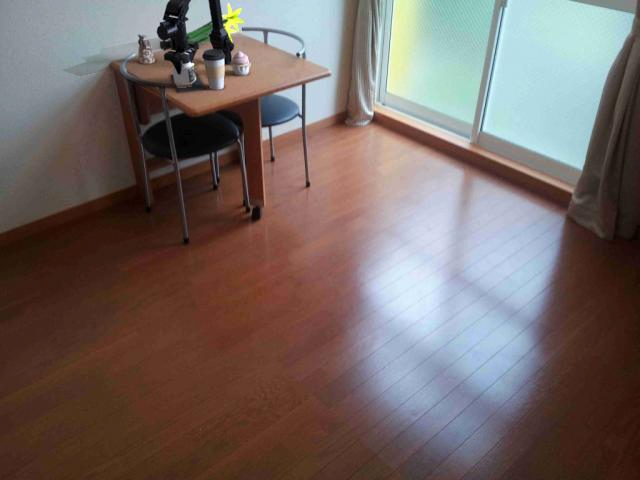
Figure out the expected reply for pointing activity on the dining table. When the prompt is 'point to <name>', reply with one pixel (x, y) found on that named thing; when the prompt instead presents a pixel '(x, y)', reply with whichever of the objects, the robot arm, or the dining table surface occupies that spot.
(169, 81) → the dining table surface
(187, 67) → the medicine bottle
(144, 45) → the figurine
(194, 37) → the daffodil flowers
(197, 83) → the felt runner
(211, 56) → the coffee cup
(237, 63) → the cupcake
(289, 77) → the dining table surface
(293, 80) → the dining table surface
